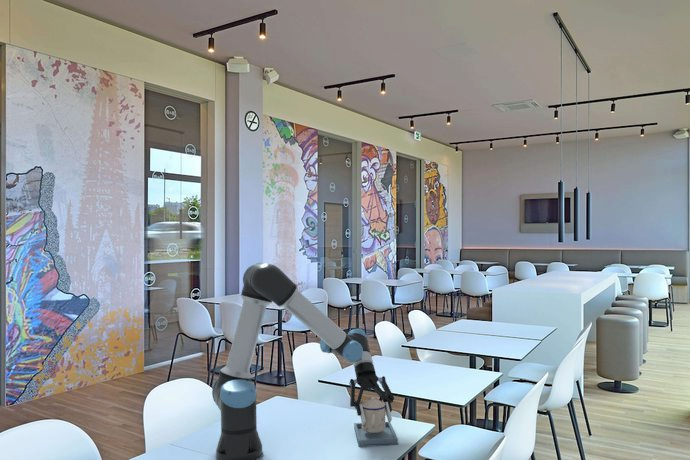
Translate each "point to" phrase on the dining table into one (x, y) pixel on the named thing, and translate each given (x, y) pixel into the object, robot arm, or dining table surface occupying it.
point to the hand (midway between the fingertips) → (377, 422)
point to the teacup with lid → (374, 415)
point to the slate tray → (375, 436)
